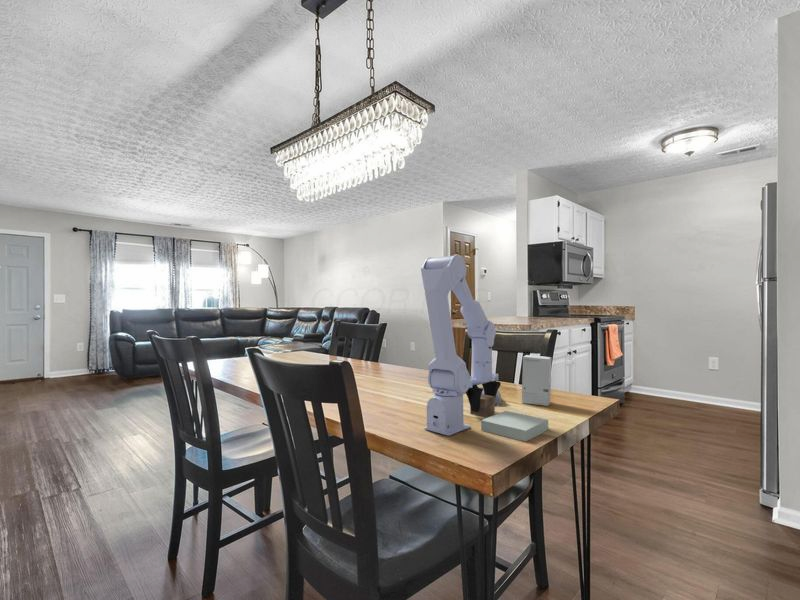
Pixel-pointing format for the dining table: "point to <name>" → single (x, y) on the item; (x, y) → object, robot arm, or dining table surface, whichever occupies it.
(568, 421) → the dining table surface
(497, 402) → the stone block
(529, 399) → the skincare box
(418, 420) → the dining table surface
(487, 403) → the walnut cube
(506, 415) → the sage board block
